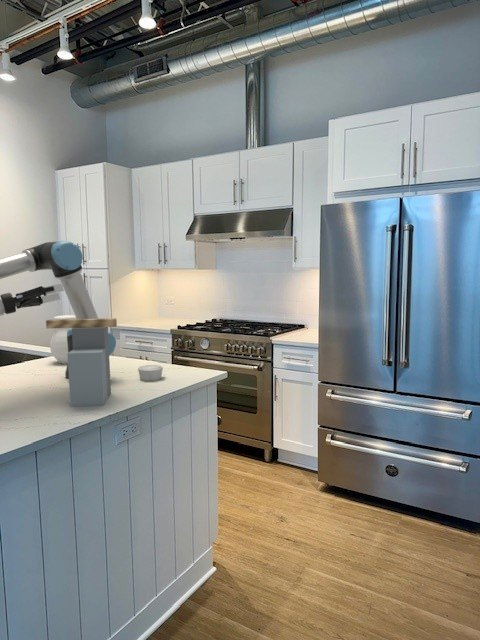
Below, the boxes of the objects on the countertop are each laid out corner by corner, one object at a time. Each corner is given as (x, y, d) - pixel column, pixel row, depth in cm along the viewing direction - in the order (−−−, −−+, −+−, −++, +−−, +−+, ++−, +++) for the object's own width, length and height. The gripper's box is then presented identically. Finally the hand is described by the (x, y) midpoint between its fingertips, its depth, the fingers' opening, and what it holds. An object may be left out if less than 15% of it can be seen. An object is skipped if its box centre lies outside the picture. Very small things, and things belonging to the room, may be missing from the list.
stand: (70, 406, 171) (66, 331, 168) (80, 394, 187) (76, 325, 184) (103, 405, 172) (99, 330, 169) (111, 393, 188) (107, 325, 185)
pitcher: (79, 357, 263) (76, 313, 260) (93, 361, 249) (91, 316, 246) (45, 362, 250) (42, 316, 247) (59, 367, 237) (56, 319, 234)
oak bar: (46, 328, 177) (45, 320, 177) (48, 327, 180) (48, 319, 180) (115, 326, 180) (115, 319, 179) (116, 325, 183) (116, 318, 182)
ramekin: (157, 382, 205) (157, 370, 204) (134, 381, 207) (133, 369, 206) (166, 376, 216) (166, 365, 215) (144, 375, 218) (143, 364, 217)
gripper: (-2, 286, 160) (61, 273, 170) (-1, 303, 182) (55, 291, 192) (5, 306, 160) (67, 292, 170) (5, 321, 181) (60, 307, 192)
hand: (61, 291), depth 181 cm, fingers open, 13 cm apart
